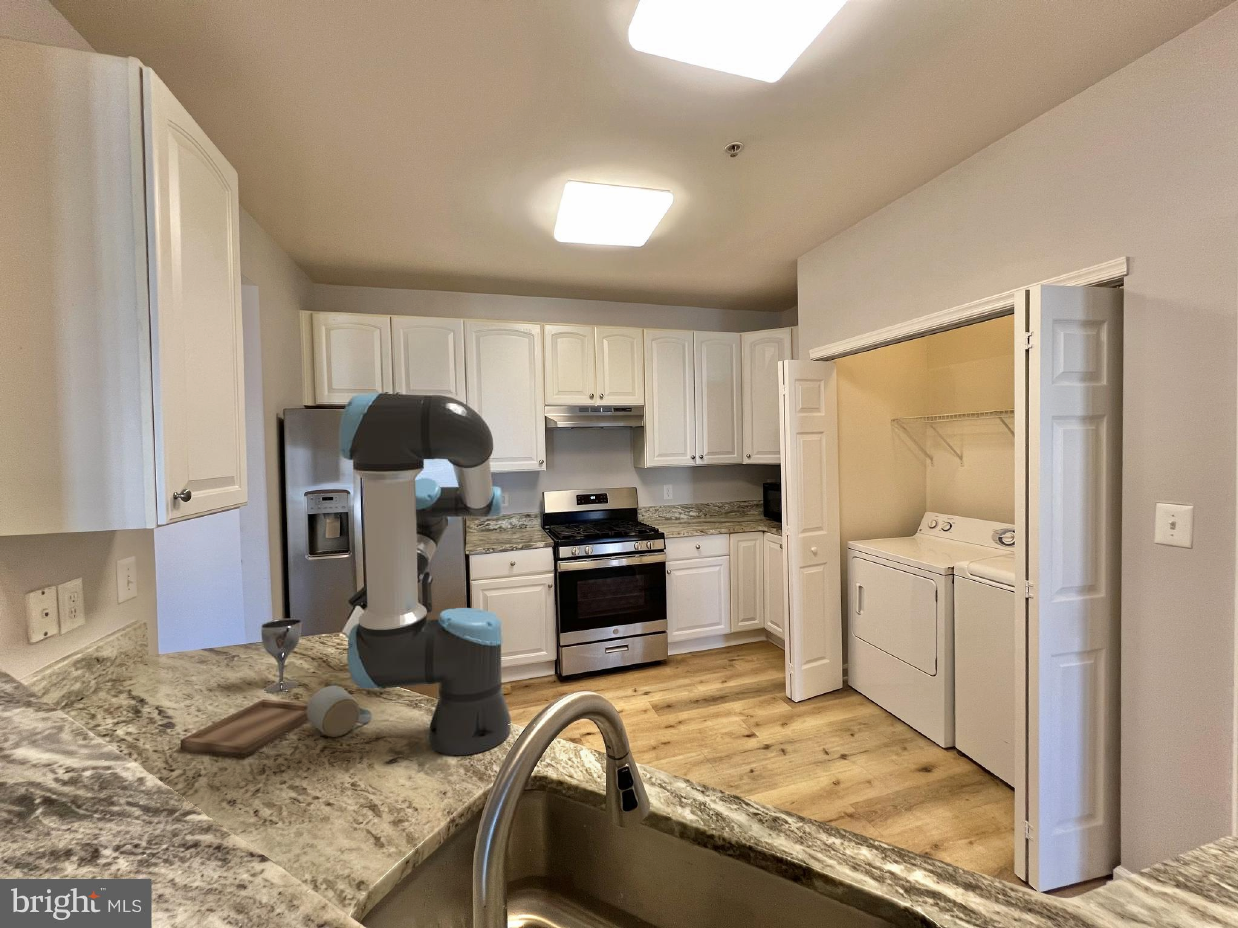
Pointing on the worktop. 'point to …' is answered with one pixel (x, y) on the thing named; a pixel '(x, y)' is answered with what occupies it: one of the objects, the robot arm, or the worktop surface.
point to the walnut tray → (247, 729)
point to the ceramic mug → (335, 711)
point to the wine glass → (281, 647)
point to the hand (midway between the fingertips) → (373, 637)
